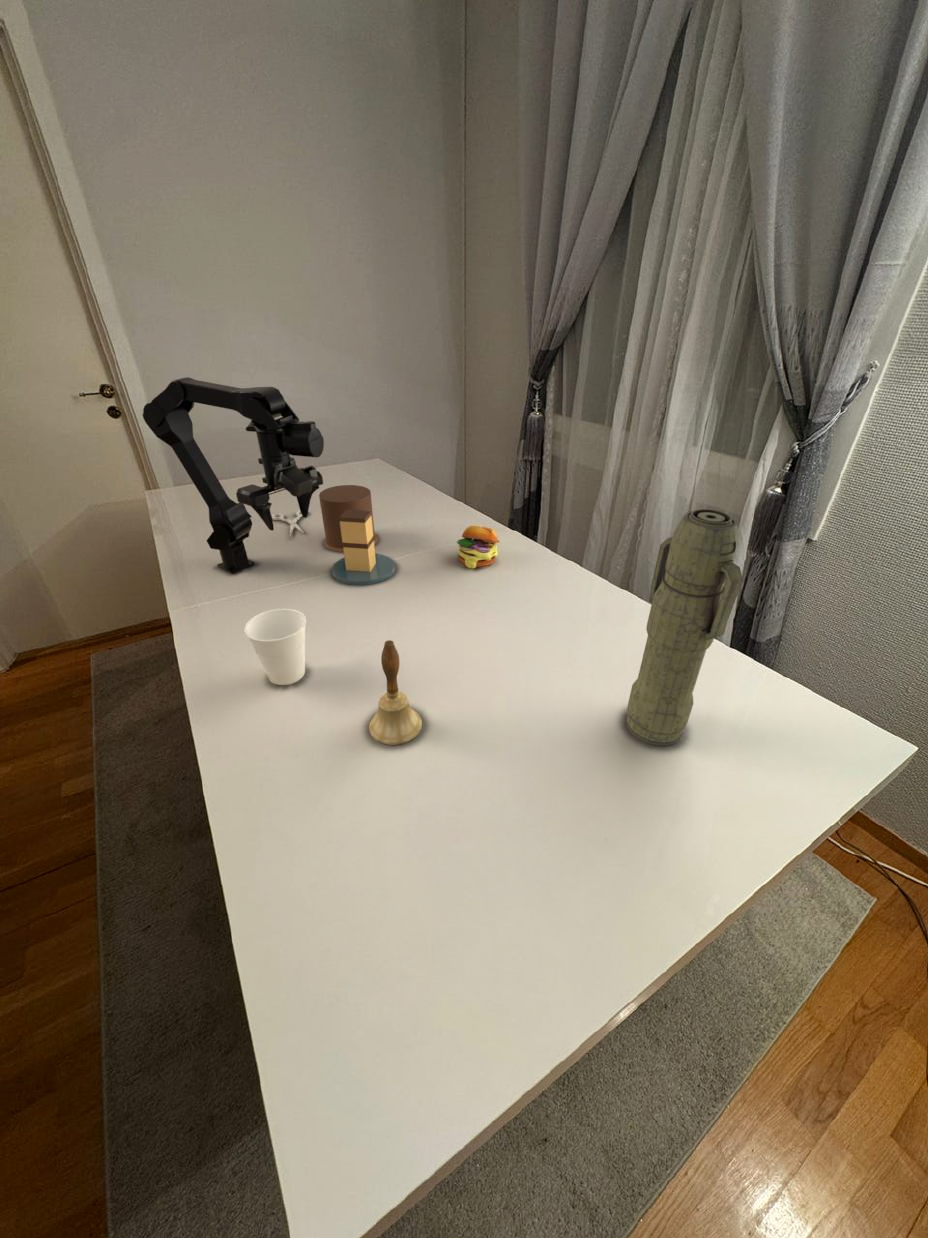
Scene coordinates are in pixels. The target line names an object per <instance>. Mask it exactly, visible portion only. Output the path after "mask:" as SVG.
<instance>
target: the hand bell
mask: <svg viewBox="0 0 928 1238" xmlns="http://www.w3.org/2000/svg"><path fill="white" fill-rule="evenodd" d="M380 660H381V668H382V671H383V673H384V675H385V678H386V692H385V693H384V694H382V695H381V696H380V698H379V700H378V708H377V712H376V713H375V714H374V715H373V717H372V718H371V720H370V722H369V724H368V731H369V734H370V736H371V737H372V738H373V739H374V740H375V741H377V742H378V743H381V744H383V745H391V746H395V745H402V744H406V743H408V742H410V741H412V740H413V739H415V738H416V737H417V736H418V735H419V734H420V732H421V730H422V728H423V721H422V718H421V716H420V714H419V713H418V712H417V711H415V710H414V709H412V708H411V706H410V703H409V698H408V696H407V695H406V694H405V693H403V692H401V691H399V685H398V673H399V670H400V655H399V651H398V649H397V648H396V645H395V642H394V641H393V640H386V641H384V644H383V649H382V652H381V659H380Z"/></svg>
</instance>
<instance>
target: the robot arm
mask: <svg viewBox="0 0 928 1238" xmlns="http://www.w3.org/2000/svg"><path fill="white" fill-rule="evenodd" d="M195 403H196V404H201V405H204V406H205V405H206V406H212V407H217V408H221V409H226V410H232V411H234V412H237V413H239V414H240V415H241V416H242V417H243V418H246V419H249V420H250V423H248V425H247V426H246V427H245V430H246V432H253V433H256V439H257V444H258V448H259V452H260V457H259V458H257V461H258V464H259V465H262V467H263V471H264V477H262V478H261V479H262V480H261V481H262V483H263V484H266V485H265V486H259V485H255V484H249V485H245V486H242V487H238V488H237V490H236V493H235V495H236V499H237V502H235V501H234V500H232V499H231V498H230V496H228V493H227V492H226V491H225V488H224V487H223V485H222V484H221V482H220V480H219V479H218V477H217V475H216V473H215V472H214V470H213V469H212V467H211V465H210V464H209V462H208V460H207V458H206V456H205V455H204V453H203V452H202V450H201V448H200V447H199V445H198V443H197V442H196V440H195V438H194V427H193V421H192V419H191V416H190V413H191V411H192V410H193V408H194V407H195ZM141 414H142V415H141V416H142V418H143V420H144V422H145V424H146V425H147V426H148V428H149V429H150V430H151V432H152V433H153V434H154V435H155V437H157V438H158V439H159V440H161V442H163V443H165V444H166V445H168V446H169V447H170V448H171V449H172V451H173V452H174V454H175V455H176V457H177V458H178V460H179V462H180V463H181V465H182V467H183V468H184V469H185V471H186V473H187V475H188V476H189V478H190V479H191V481H192V484H194V486H195V488H196V490H197V491H198V492H199V493H198V494H200V496H201V498H202V500H203V501H204V503H205V504H206V506H207V508H208V520H209V524H210V527H211V528H212V530H213V531H212V533H210V535H209V536H208V538H207V539H206V542H207V544H208V546H209V548H210V549H212V550H218V551H219V554H220V558H221V562H220V563H217V564H216V566H217V568H219V569H222V570H223V571H225V572H227V573H230V574H236V573H238V572H241V571H242V570H245V569H247V568H250V567H252V566H254V565H255V561H253V560H251V559H249V558H248V554H247V553H248V552H247V550H246V546H245V543H244V540H246V539H247V538H250V532H251V530H252V527H253V521H252V519H251V518H252V515H251V514H250V513H249V511H248V510H247V507H246V506H249V507H251V508H252V509H253V510H254V511H255V512H256V514H257V515H258V517H259V518H260V519H261V520H262V522H263V523H264V525H265V526H266V527H267V528H268V530H269V531H271V532H272V531H274V529H275V526H274V521H273V519H272V516H271V513H272V512H271V507H272V505H273V503H272V502H269V501H270V495H274V494H277V493H280V492H282V491H287V492H288V493H290V495H291V496H292V497H295V498H296V500H297V504H298V507H299V511H301V513H300V514H302V518H304V519H306V518H308V515H309V510H310V503H311V499H312V496H313V494H314V493H315V492H316V491H317V490H319V489H320V486H322V485H324V479H323V475H322V473H321V472H320V471H318V470H317V468H316V467H315V466H313V465H309V466H306V467H301V468H299V467H298V466H297V461H296V460H295V457H305V458H306V457H307V458H320V457H321V456H322V455H323V452H324V447H325V442H324V441H325V439H324V436H323V435H322V432H321V430H320V429H319V428H318V427H317V426H316V422H315V421H310V420H309V421H300V419H299V417H298V416H297V414H296V413H295V412H294V410H293V409H292V408H291V406H290V405H289V404H288V403H287V402H286V400H285V397H284V396H283V394H282V392H280V389H278V388H277V387H275V386H253V387H235V386H231V385H227V384H220V383H214V382H210V381H209V382H208V381H204V380H198V379H194V378H192V377H189V376H188V377H181V378H175V379H173V380H171V381H170V383H169V384H168V385H167V386H166V388H165V389H163V390H162V391H161V392H160V393H158V394H157V396H155V397H154V398H153V399H152V400H151V401H150V402H148V403H146V404H145V405H144V406H143V409H142V413H141ZM276 418H277V419H276ZM292 456H293V457H292Z"/></svg>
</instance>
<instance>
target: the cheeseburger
mask: <svg viewBox="0 0 928 1238" xmlns="http://www.w3.org/2000/svg"><path fill="white" fill-rule="evenodd" d="M461 537H462V538H460V539H457V541H456V544H457V545H458V559H459V561H460V562H461V563H462V564H463V565H465V567H467V568H468V569H476V568H478V567H485V566H489V565H491V564H494V563H495V561H496V558H497V557H498V554H499V552H498V545H497V544H498V543H500V540H499V539H498V535H497V533H496V531H495V530H494V528H492V527H487V526H480V525H469V526H468V527H466V528H465V529H464V530H463V532H462V534H461Z"/></svg>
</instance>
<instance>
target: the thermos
mask: <svg viewBox="0 0 928 1238" xmlns="http://www.w3.org/2000/svg"><path fill="white" fill-rule="evenodd" d="M738 547H739V529H738V521H737V519H736V518H735V517H732V516H731V515H730V514H728V513H726V512H723V511H721V510H716V509H710V508H699V509H694V510H691V511H688V512H686V513H685V514H684V515H683V517H682V518H681V519H680V521H679V523H678V524H677V526H676V528H675V529H674V531H673V533H672V536H670V537H667V538H666V539H665V540H664V541H663V542H662V543H660V545H659V549H658V553H657V558H656V562H655V567H654V572H653V577H652V579H651V580H652V581H651V585H650V591H649V598H648V599H649V600H648V601H649V602H650V603H651V606H650V610H649V614H648V618H647V622H646V628H645V630H646V633H647V638H646V642H645V646H644V650H643V654H642V659H641V662H640V666H639V671H638V672H639V673H638V675H637V678H636V680H635V681H634V682H633V684H632V685H631V689H630V692H629V693H630V694H629V696H628V697H629V698H628V701H627V708H626V711H627V712H626V715H625V721H624V722H625V725H626V729H627V730H628V731H629V732H630V734H631V735H632V736H634V737H635V738H636V739H638V740H639V741H641V742H643V743H646V744H648V745H653V746H656V747H668V746H672V745H674V744H676V743H678V742H679V741H680V740H681V738H682V737H683V734H684V730H685V728H686V727H687V724H688V723H689V720H690V716H691V713H692V710H693V707H694V694H693V693H694V690H695V686H696V683H697V680H698V677H699V675H700V671H701V669H702V665H703V662H704V659H705V655H706V653H707V650H708V649H710V647H711V646H712V644H713V642H714V640H715V639H716V638H719V637H721V636H723V635H725V632H726V628H727V625H728V621H729V618H730V617H731V614H732V610H733V607H734V605H735V603H736V600H737V597H738V596H739V595H738V594H739V592H740V589H741V587H742V584H743V581H744V579H743V576H742V570H741V567H740V566H738V565H737V564H735V563H734V560H735V556H736V553H737V551H738Z"/></svg>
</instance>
